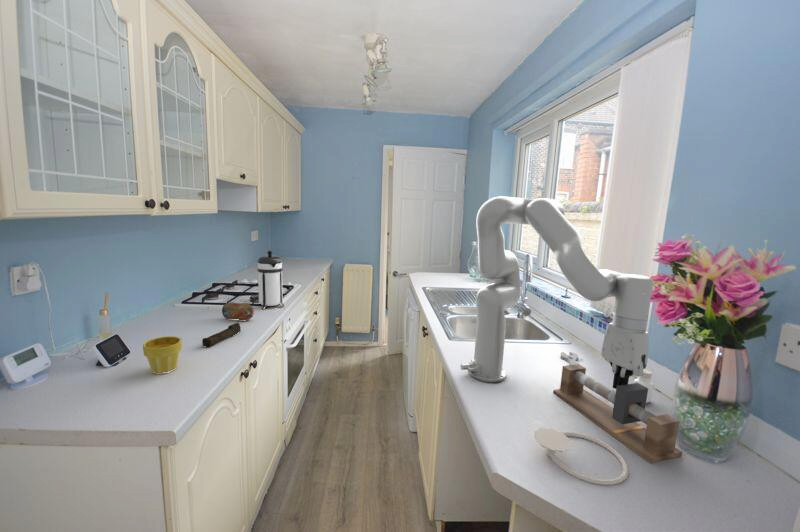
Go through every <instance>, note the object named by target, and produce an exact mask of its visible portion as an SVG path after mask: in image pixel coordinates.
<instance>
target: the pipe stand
mask: <svg viewBox="0 0 800 532" xmlns="http://www.w3.org/2000/svg"><path fill="white" fill-rule="evenodd" d="M586 370H587V368H586V367H584V366H582V365H581V364H580V363H577V364H575V365H570V364H567V365H562V370H561V378H560V386H559V388H556V389H553V392H552V393H553V394H554V395H555V396H557V397H558V398H560V399H561V400H562V401H564V402H565V403H566V404H568V405H569V406H570V407H572V408H573V409H575V410H576V411H577V412H579V413H580V414H582V415H583V416H585V417H586V418H587V419H589V421H592V422H593V423H594V424H595V425H597V426H598V427H600V428H601V429H602V430H604V431H605V432H606V433H608V434H609V435H610V436H612V437H613V438H615V439H616V440H618V441H619V442H620V443H621V444H623V445H625V446H626V447H627V448H628V449H630V450H631V451H633V452H634V453H635V454H637V455H638V456H640V457H641V458H642V459H643V460H645V461H646V462H648V463H649V464H652V463H656V462H661V461H665V460H669V459H674V458H677V457H678V458H679V457H681V456H682V455H683V451H681V450H680V449H679V448H677V447H676V443H677V439H678V433H679V428H680V427H679V426H680V420H679V419H678V418H675V417H673V415H672V416H671V415H670V414H667V413H666V414H665V413H664V414H659V415H656V414H654V413H652V412H650V411H648V409H647V410H646V408H645V409H644V408H642V407H640V406H638V405H637V404H636V403H632V404H630V406H629V412H628V414H630V415H632V416H634V417H635V418H637V419H639V420H640V421H639V422H641V423H643V424H645V425H646V427H644V426H643V425H640V424H639V423H638V422H634V423H628V424H623V425H622V424H620V423H619V422H617V421H616V420H614V419H613V418H612V415H613V408H614V406H613V407H612V406H611V405H609V404H608V403H606V402H605V401H603V400H601V399H600V398H598V397H597V396H595V395H594V394H592V393H591V392H589V391H588V390H586V389H584V387H586V388H587V389H589V390H591V391H592V392H593V393H596V394H597V395H598V396H600V397H602V398H604V399H605V400H607V402H609V403H612V404H613V405H614V401H615V394H616V391H615V390H612V389H611V388H610V387H608V386H606V385H605V384H602V383H601V382H599V381H597V380H596V379H594V378H593V377H591V376H589V375H587V374H586Z"/></svg>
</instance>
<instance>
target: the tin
mask: <svg viewBox="0 0 800 532" xmlns="http://www.w3.org/2000/svg"><path fill="white" fill-rule="evenodd" d="M221 313H222V316H223V317H224V318H225V319H226V320H227V319H239V320H246V321H245V322H248V321H249V320H251V319H252V318H253V317H254V314H255V311H254V307H253V305H251V304H250V303H246V302H226V303H225V304H224V305H223V306H222V307H221Z"/></svg>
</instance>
